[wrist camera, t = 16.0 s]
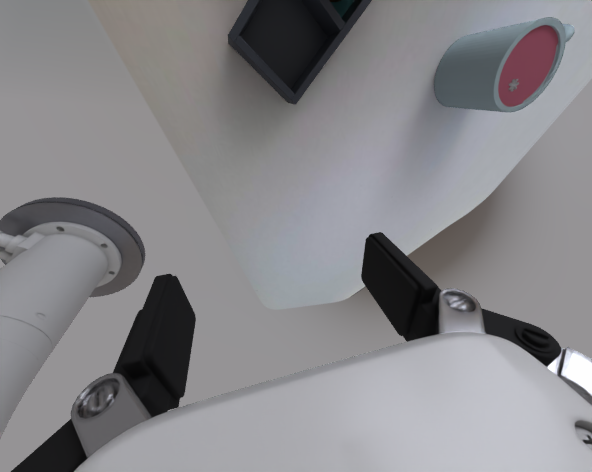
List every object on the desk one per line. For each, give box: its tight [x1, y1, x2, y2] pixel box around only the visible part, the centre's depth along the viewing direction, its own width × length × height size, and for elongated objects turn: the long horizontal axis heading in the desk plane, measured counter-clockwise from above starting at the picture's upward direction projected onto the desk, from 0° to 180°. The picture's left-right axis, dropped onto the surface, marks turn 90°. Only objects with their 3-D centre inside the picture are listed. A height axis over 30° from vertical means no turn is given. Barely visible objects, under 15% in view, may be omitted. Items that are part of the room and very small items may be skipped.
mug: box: [434, 17, 574, 112], centre depth 32 cm, size 14×9×10 cm
